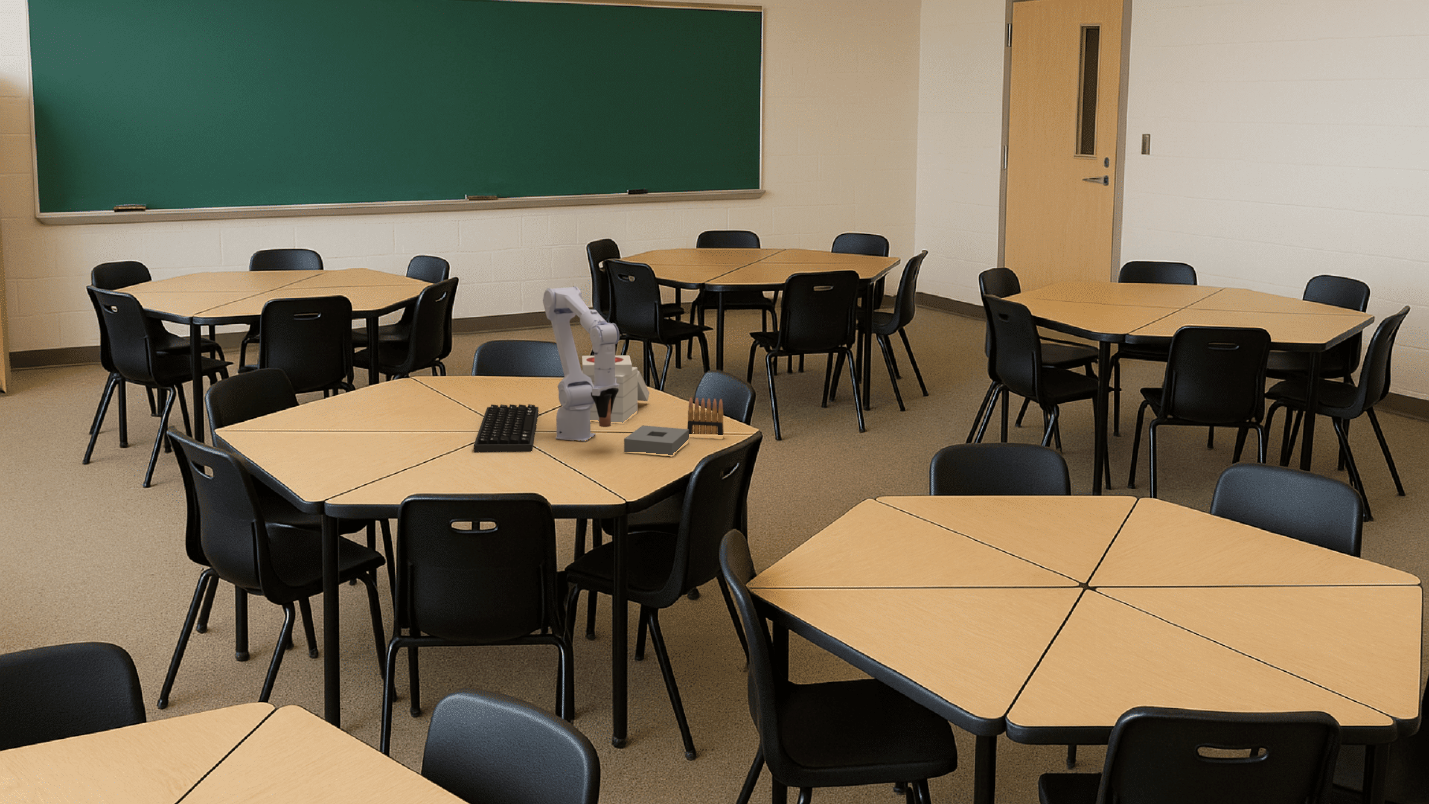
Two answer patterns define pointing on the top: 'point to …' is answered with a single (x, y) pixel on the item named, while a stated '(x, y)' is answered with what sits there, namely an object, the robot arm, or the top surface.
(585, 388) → the robot arm
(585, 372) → the pizza boxes
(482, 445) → the computer keyboard
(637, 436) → the socket block
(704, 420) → the ammunition clip
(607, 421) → the peg
